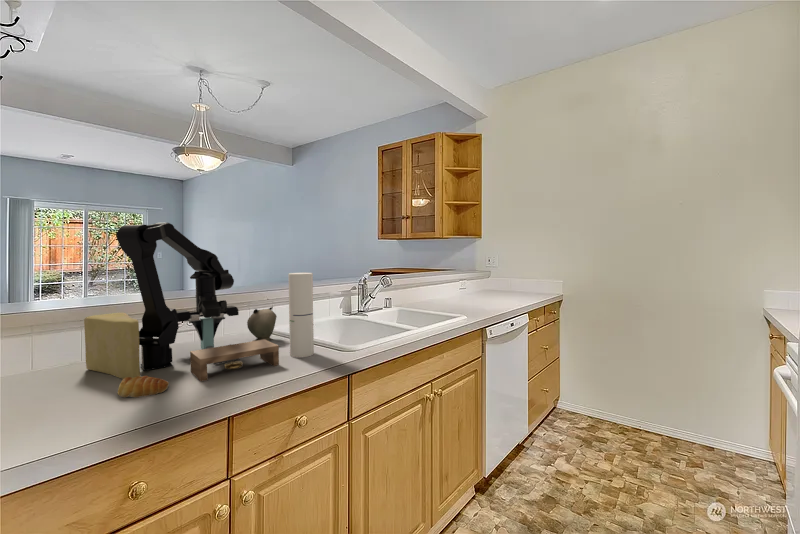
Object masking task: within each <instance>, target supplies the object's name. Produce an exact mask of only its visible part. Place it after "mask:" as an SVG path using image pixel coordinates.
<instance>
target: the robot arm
mask: <svg viewBox="0 0 800 534" xmlns="http://www.w3.org/2000/svg"><path fill="white" fill-rule="evenodd" d="M115 234H116V240H117V242H118V244H119V246H120V249H121V251H123V253H124V254H125V255H126V256H128V258H129V259H130V260H131V264H132V266H133V271H134V273H135V277H136V281H137V284H138V288H139V291H140V296H141V298H142V303H143V307H144V311H143V314H142V317H141V323H142V327H141V328H140V329H139V346H140V347H141V350H140V351H141V364H140V367H141V368H142V370H143V371H150V370H156V369H161V368H166V367H171V366H172V363H173V348H172V347H171V346H170V345H172V344H175V343H176V339H177V335H178V330H179V328H180V327H179V326H180V325H179V323H181V322H182V323H183V322H189V323H190V324H192V325H193V327H194V329H195V330H196V333H197V335H198V337H199V341H200V342H201V341H202V340H203V335H202V327H201V322H202V321H201V320H200V318H210V317H211V318H213V327H214V337H215V336H216V333H217V330H218V328H219V325H220V323H221V322H222V321H223V320H225V319H226V317H225V315H227V316H228V317H235V316H239V314H240V313H239V312H240V311H239V308H238V307H237V306H235V305H228V303H227V301H226V300H225V299H224V300H219V301H218V299H217V293H216V291H222V290H227V289H229V290H230V289H231V288H232V287H233V286H234V282H235V279H234V277H233V276H232V274H231V273H230V272H229V269H224V267H223V266H222V264H221V262H220V261H219V257H218V256H217V255H216V254H215V253H213V252H211V251H210V250H207V249H205V248H204V249H203V248H201V247H199V246H197V245H196V244H195V243H194V242H192V241H191V240H190V239H189V238H188V237H186V236H185V235H184V234H183V233H181V232H180V231H179V230H178V229H177V228H175V226H174V225H173V224H172V223H170V222H156V223H153V224H124V225H122V226H120V228H119V229H118V230H117V231H116V233H115ZM157 241H162V242H164V243H165V244H167V245H168V246H169V247H171V248H172V249H173V250H175V251H176V252H177V253H179V254H180V255H182V256H183V257H184V258H185V259H186V261H187V265H188V266H190V267H191V269H192V270H193V271H194V272H193V274H191V275H190V276H189V279H191V280H195V311H189V310H188V309H183V310H182V309H181V310H176V308H170V307H168V305H167V304H166V300H165V297H164V293H163V289H162V285H161V281H160V278H159V277H160V276H159V273H158V270H157V266H156V263H155V262H156V261H155V258H154V255H155V253H156V249H157V247H158V244H157Z"/></svg>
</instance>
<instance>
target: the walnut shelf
mask: <svg viewBox="0 0 800 534" xmlns="http://www.w3.org/2000/svg"><path fill="white" fill-rule="evenodd" d="M279 349H280V345H278V344H277V343H274V342H271V341H270V340H269V341H267V340H265V339H264V340H258V341H253V340H252V341H251V340H250V341H247V342H240V343H234V344H228V345H221V346H214V348H208V349H197V350H196V349H195V350H190V351H189V354H190V356H189V357H190V358H189V359H190V360H189V361H190V373H191V374H192V375H194V377H195V378H197V380H198V381H200V382H205V381H208V365H209V364H213V363H216V362H222V361H227V360H232V359H238V358H240V359H241V358H248V357H253V356H259V359H260V360H262V361H263V362H266V363H268V364H269V365H271V366H273V367H277V366H280V353H279V352H280V350H279Z"/></svg>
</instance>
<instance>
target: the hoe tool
mask: <svg viewBox="0 0 800 534" xmlns="http://www.w3.org/2000/svg"><path fill="white" fill-rule="evenodd" d="M199 320H201V321H202V322H201V327H202V335H203V340H202V341H201V340H200V350H202V349H208V348H214V347H215V336H214V327H213V318H211V317H210V318H205V317H199ZM240 360H241V358H238V359H232V360H227V361H222V362H216V363H212V364H213V365H214V366H215V365H221V364H226V363H228V362H233V361H240Z"/></svg>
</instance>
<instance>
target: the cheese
mask: <svg viewBox="0 0 800 534" xmlns="http://www.w3.org/2000/svg"><path fill="white" fill-rule="evenodd" d="M83 321H84V322H83V323H84V326H83V327H84V343H85V344H84V345H85V347H84V348H85V364H86V365H85V366H86V369H87V370H88V371H94V372H98V373H102V374H107V375H111V376H114V377H116V378H119V379H121V380H123V379H124V378H126V377H131V378H134V377H136V376H141V368H140V367H141V364H140V345H139V331H140V327H139V325H140V323H139V320H138V319H136V318H133V317H131V316H130V315H128V314H127V313H125V312H114V313H112V312H111V313H103V314H95V315H89V316H87V317H86V316H85V318H84V319H83Z"/></svg>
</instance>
